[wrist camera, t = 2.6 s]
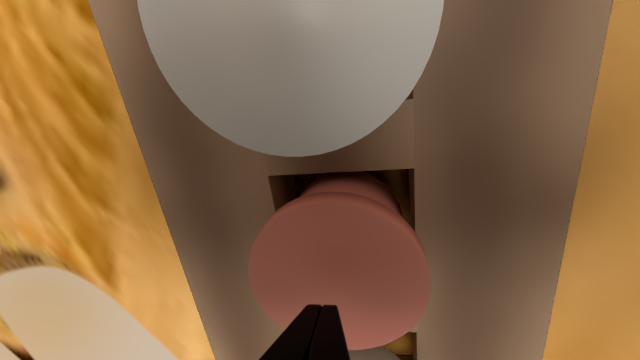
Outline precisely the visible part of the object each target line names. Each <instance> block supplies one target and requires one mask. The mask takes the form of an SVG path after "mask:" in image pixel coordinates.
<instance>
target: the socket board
mask: <svg viewBox="0 0 640 360" xmlns="http://www.w3.org/2000/svg"><path fill="white" fill-rule="evenodd" d="M88 2H89V5H90V8H91V11H92V13H93V16H94V19H95V22H96V25H97V28H98V30H99V33H100V36H101V39H102V42H103V44H104V47H105V50H106V53H107V56H108V58H109V61H110V64H111V67H112V70H113V73H114V75H115V78H116V81H117V84H118V87H119V89H120V92H121V95H122V98H123V101H124V104H125V106H126V109H127V112H128V115H129V118H130V120H131V123H132V126H133V129H134V132H135V134H136V137H137V140H138V143H139V146H140V149H141V151H142V154H143V157H144V160H145V163H146V165H147V168H148V171H149V174H150V177H151V180H152V182H153V185H154V188H155V191H156V194H157V196H158V199H159V202H160V205H161V208H162V211H163V213H164V216H165V219H166V222H167V225H168V227H169V230H170V233H171V236H172V239H173V241H174V244H175V247H176V250H177V253H178V256H179V258H180V261H181V264H182V267H183V270H184V272H185V275H186V278H187V281H188V284H189V287H190V289H191V292H192V295H193V298H194V301H195V303H196V306H197V309H198V312H199V315H200V318H201V320H202V323H203V326H204V329H205V332H206V334H207V337H208V340H209V343H210V346H211V348H212V351H213V354H214V357H215V360H259V359H260V357H261V356H262V355H263V354H264V353H265V352H266V351H267V349H268V348H269V347H270V346H271V345H272V344H273V343H274V342H275V340H276V339H277V338H278V337H279V336H280V335H281V334H282V332H283V331H284V330H285V329H283V328H282V327H281V326H280V325H278V324H277V323H276V322H275V321H274V320H273V319H272V318H271V317H269V315H268V314H267V313H266V312H265V311H264V309H263V308H262V307H261V305H260V304H259V302H258V301H257V299H256V297H255V295H254V293H253V290H252V287H251V284H250V280H249V275H248V262H249V255H250V252H251V249H252V246H253V244H254V242H255V240H256V238H257V237H258V235H259V233H260V232H261V230H262V228H263V227H264V225H265V224H266V222H267V221H268V220H269V218H270V217H271V216H272V215H273V214H274V213H275V212H276V211H277V210H278V209H279V208H281V207H282V206H284V205H285V204H287V203H288V202H290V201H292V200H294V199H296V198H297V194H296V188H295V182H294V176H293V175H294V174H313V173H333V172H353V171H372V170H392V169H409V203H410V226H411V227H412V229H413V230H414V231H415V233H416V234H417V236H418V238H419V239H420V241H421V243H422V246H423V248H424V251H425V255H426V259H427V264H428V269H429V274H430V283H431V291H430V298H429V302H428V306H427V308H426V310H425V312H424V314H423V316H422V317H421V319H420V320H419V322H418V323H417V324H416V325H415V326H414V327H413V328H412V329H411V330H410V331H409V332H412V341H413V356H403V355H396V356H397V357H398V358H399V359H400V360H542V359H543V354H544V349H545V344H546V338H547V333H548V328H549V323H550V318H551V313H552V308H553V303H554V298H555V293H556V288H557V283H558V277H559V272H560V267H561V262H562V257H563V252H564V247H565V242H566V237H567V232H568V227H569V222H570V216H571V211H572V206H573V201H574V196H575V191H576V186H577V181H578V176H579V171H580V166H581V161H582V155H583V150H584V145H585V140H586V135H587V130H588V125H589V120H590V115H591V110H592V105H593V100H594V94H595V89H596V84H597V79H598V74H599V69H600V64H601V59H602V54H603V49H604V44H605V39H606V34H607V28H608V23H609V18H610V13H611V8H612V3H613V0H444V6H443V12H442V17H441V22H440V27H439V32H438V35H437V38H436V41H435V44H434V47H433V50H432V53H431V56H430V58H429V60H428V62H427V64H426V66H425V69H424V71H423V73H422V75H421V77H420V78H419V80H418V82H417V83H416V85H415V86H414V88H413V90H412V91H411V93H410V94H409V95H408V97H407V98H406V99H405V100H404V102H403V103H402V104H401V105H400V107H399V108H398V109H397V110H396V111H395V112H394V113H393V114H392V115H391V116H390V117H389V118H388V119H387V120H386V121H385V122H384V123H383V124H381V125H380V126H379V127H377V128H376V129H375V130H373V131H372V132H371V133H369V134H368V135H366V136H365V137H363V138H361V139H359V140H357V141H356V142H354V143H352V144H350V145H347V146H345V147H342V148H340V149H337V150H335V151H331V152H327V153H323V154H319V155H312V156H304V157H284V156H277V155H269V154H265V153H261V152H257V151H253V150H251V149H248V148H246V147H243V146H240V145H238V144H236V143H234V142H232V141H230V140H228V139H226V138H225V137H223V136H221V135H220V134H218V133H217V132H215V131H214V130H212V129H211V128H209V127H208V126H207V125H206V124H204V123H203V122H202V121H201V120H200V119H199V118H198V117H196V116H195V115H194V114H193V113H192V112H191V111H190V110H189V109H188V108H187V106H186V105H185V104H184V103H183V102H182V101H181V100H180V98H179V97H178V96H177V95H176V93H175V92H174V91H173V89H172V88H171V87H170V85H169V83H168V82H167V80H166V79H165V77H164V75H163V74H162V72H161V70H160V69H159V67H158V64H157V62H156V60H155V58H154V56H153V54H152V52H151V50H150V47H149V44H148V41H147V38H146V36H145V33H144V30H143V26H142V22H141V18H140V14H139V10H138V3H137V0H88Z"/></svg>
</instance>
